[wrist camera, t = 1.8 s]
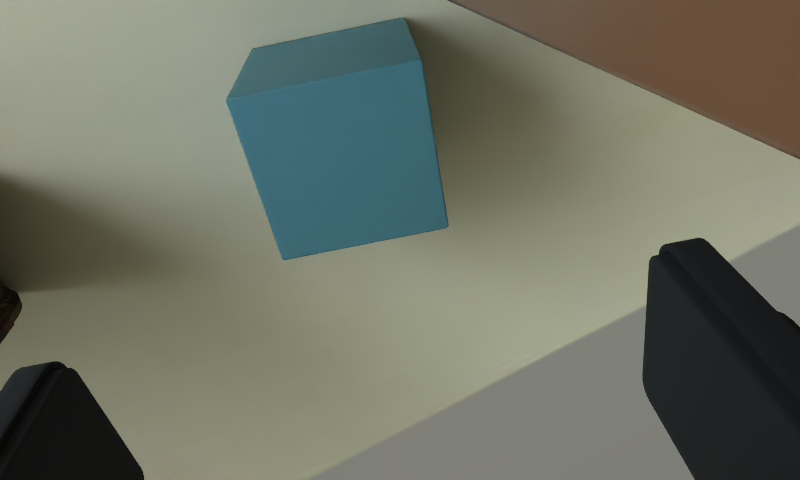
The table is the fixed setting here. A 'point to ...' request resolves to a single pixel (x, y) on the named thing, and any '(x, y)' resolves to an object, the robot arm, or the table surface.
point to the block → (340, 138)
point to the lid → (682, 53)
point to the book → (8, 309)
